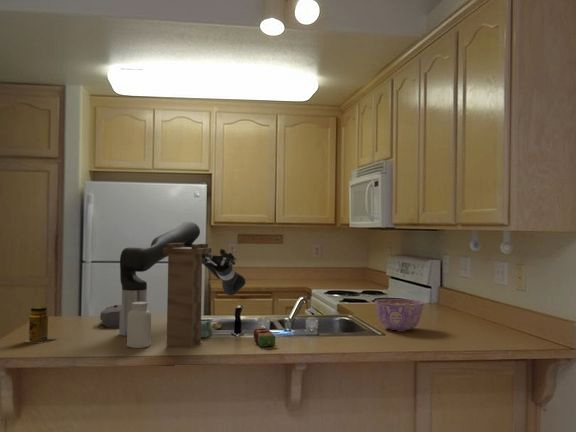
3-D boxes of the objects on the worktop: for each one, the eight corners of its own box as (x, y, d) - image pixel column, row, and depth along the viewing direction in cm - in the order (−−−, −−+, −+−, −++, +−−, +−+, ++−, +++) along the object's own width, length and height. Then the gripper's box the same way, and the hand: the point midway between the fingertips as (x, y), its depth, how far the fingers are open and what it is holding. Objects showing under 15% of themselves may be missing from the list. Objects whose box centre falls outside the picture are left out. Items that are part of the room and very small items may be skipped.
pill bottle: (128, 349, 184) (129, 304, 184) (125, 344, 191) (126, 301, 191) (152, 347, 187) (153, 303, 187) (148, 342, 194) (149, 300, 195)
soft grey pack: (136, 327, 224) (138, 319, 243) (137, 307, 224) (139, 301, 244) (97, 328, 221) (103, 320, 240) (98, 308, 221) (103, 301, 240)
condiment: (23, 342, 193) (24, 308, 193) (42, 337, 201) (42, 305, 201) (38, 344, 190) (39, 309, 191) (57, 339, 198) (58, 306, 198)
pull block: (211, 326, 226) (210, 314, 226) (225, 326, 225) (224, 314, 225) (190, 337, 204) (189, 324, 205) (205, 337, 203) (204, 323, 203)
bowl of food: (392, 335, 214) (393, 306, 214) (365, 327, 232) (365, 299, 232) (433, 332, 222) (434, 303, 222) (404, 324, 240) (404, 297, 240)
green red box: (250, 338, 206) (250, 325, 206) (267, 338, 207) (267, 324, 207) (259, 350, 185) (259, 336, 185) (278, 350, 187) (278, 335, 187)
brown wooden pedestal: (176, 339, 201) (178, 242, 202) (209, 340, 199) (211, 243, 200) (161, 346, 189) (163, 243, 190) (196, 348, 186) (198, 244, 187)
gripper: (210, 260, 238) (198, 241, 224) (241, 261, 235) (231, 242, 221) (206, 275, 234) (194, 258, 220) (238, 277, 231) (228, 258, 217)
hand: (213, 250), depth 220 cm, fingers open, 6 cm apart
